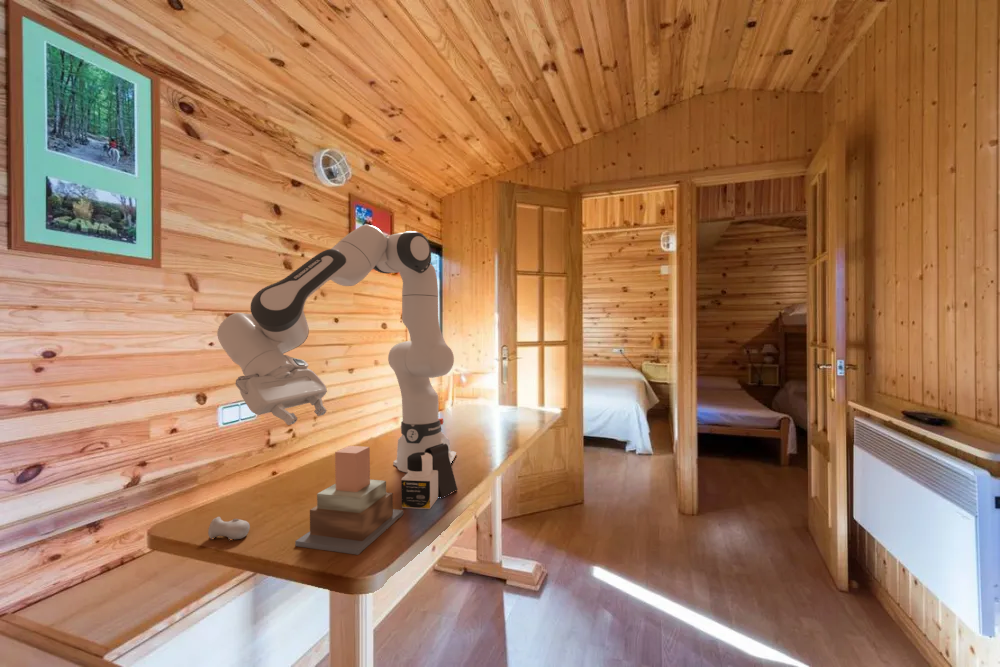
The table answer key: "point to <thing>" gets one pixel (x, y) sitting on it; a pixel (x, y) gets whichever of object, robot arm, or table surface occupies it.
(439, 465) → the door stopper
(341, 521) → the brick tower
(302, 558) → the table surface
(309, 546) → the base plate
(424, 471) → the medicine bottle
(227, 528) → the smooth white sculpture
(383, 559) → the table surface
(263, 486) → the table surface
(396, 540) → the table surface
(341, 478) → the terracotta brick
